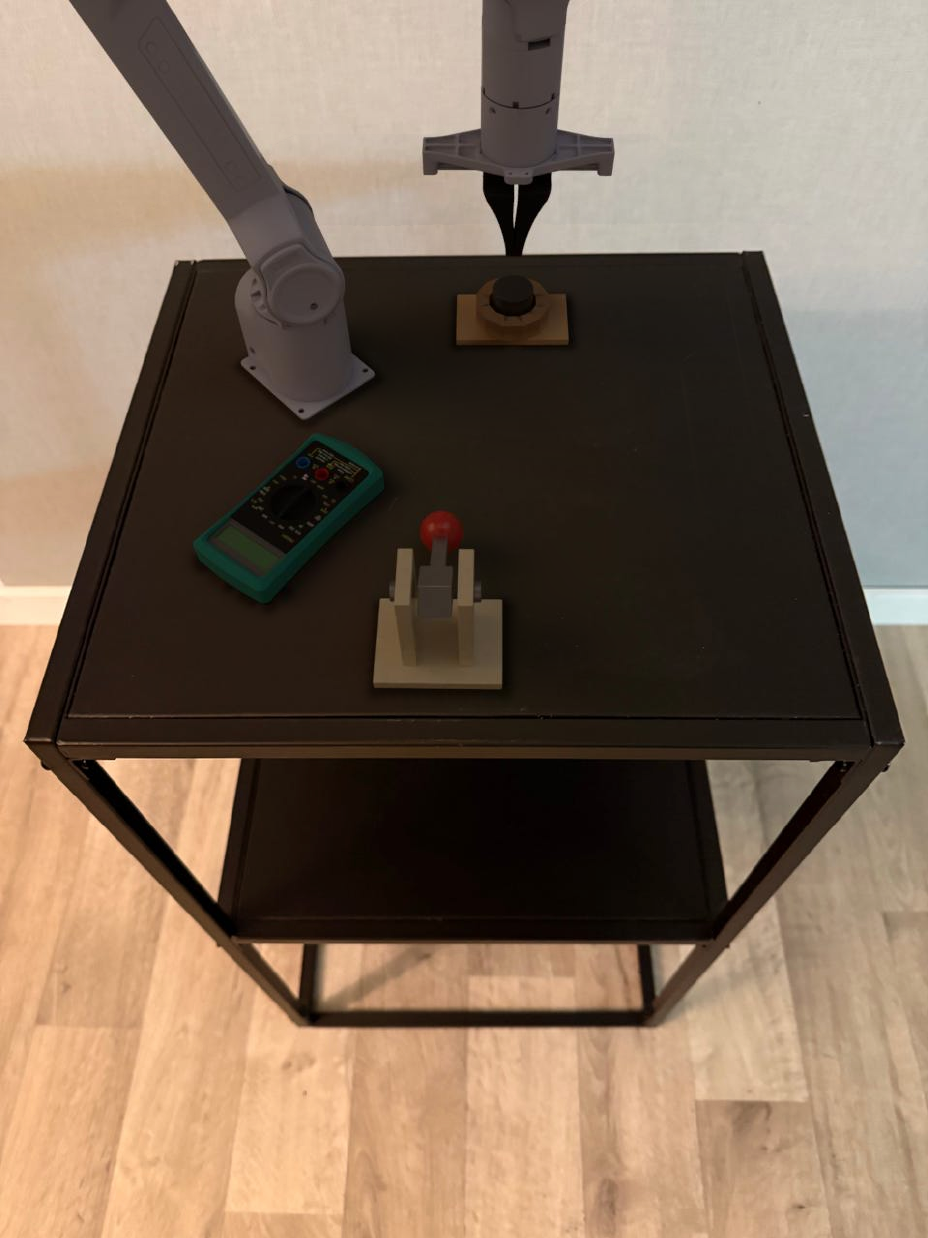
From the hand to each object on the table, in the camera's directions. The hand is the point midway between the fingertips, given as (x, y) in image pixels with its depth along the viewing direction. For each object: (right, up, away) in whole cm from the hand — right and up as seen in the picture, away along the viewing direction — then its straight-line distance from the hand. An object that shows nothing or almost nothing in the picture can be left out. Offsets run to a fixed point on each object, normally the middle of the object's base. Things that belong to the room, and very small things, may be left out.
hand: (513, 248), depth 79 cm
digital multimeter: (-18, -24, -5) cm, 30 cm away
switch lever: (-6, -28, -13) cm, 32 cm away
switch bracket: (-6, -33, -11) cm, 36 cm away
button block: (0, -4, +7) cm, 8 cm away
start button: (0, -3, +5) cm, 6 cm away
